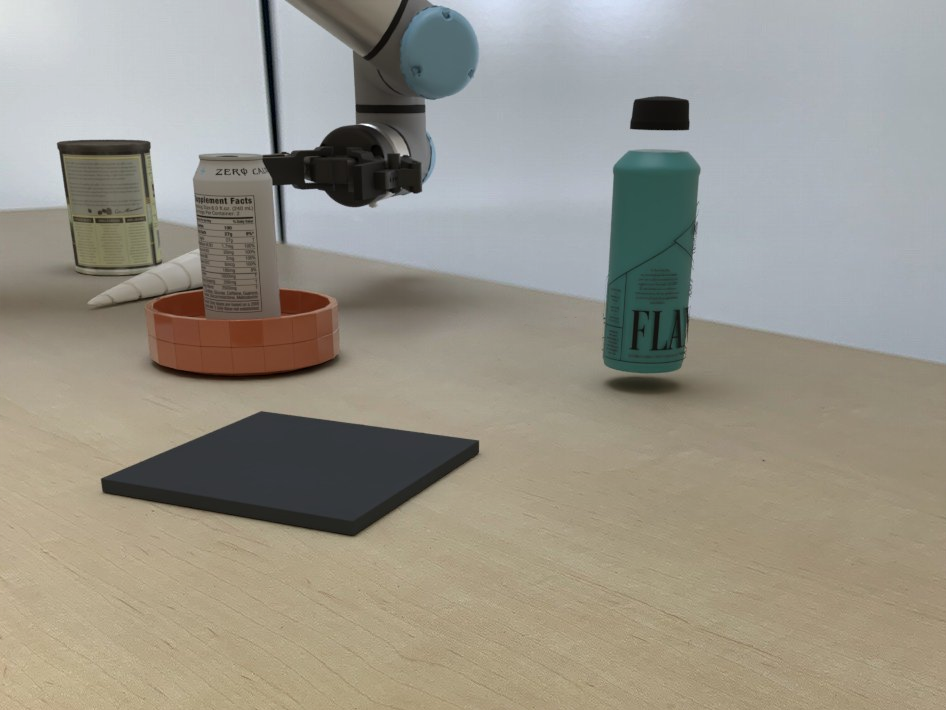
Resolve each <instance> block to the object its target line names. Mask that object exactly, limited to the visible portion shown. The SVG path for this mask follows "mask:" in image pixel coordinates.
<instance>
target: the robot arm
mask: <svg viewBox="0 0 946 710" xmlns="http://www.w3.org/2000/svg"><path fill="white" fill-rule="evenodd" d="M284 2H287V3H288V4H289V5H291V6H292V7H293V8H295V9H296V10H298V11H299V12H300V13H302V14H303V15H304V16H305V17H307V18H309V19H310V20H311V21H312V22H314V23H315V24H316V25H318V26H319V27H321V28H322V29H324V30H325V31H326V32H327V33H329V34H330V35H332V36H333V37H335V39H337V40H338V41H340V42H341V43H343V44H344V45H345V46H346V47H348V48H349V49H351V50H352V63H353V65H352V66H353V81H354V83H353V85H354V101H355V103H354V104H355V105H354V106H355V109H354V110H355V113H354V114H355V124H350V125H349V124H348V125H342V126H339V127H337V128H335V129H333V130H331V131H330V132H329V133H328V134H326V135H325V137H323V139H322V141H321V143H320V144H319V145H318V146H316V147H314V149H298V150H295V149H293V150H292V151H291V152H287V151H281V152H280V153H270V154H269V153H268V154H262V155H263V158H262V161H263V164H264V165H265V167H266V169H267V171H268V172H269V174H270V176H271V178H272V185H273V187H274V186H292V188H294V189H295V190H303V191H304V190H305V191H306V190H318V191H322V192H324V193H326V195H327V196H328V197H329V198H330V199H331V200H332V201H334V202H335V203H337V204H338V205H340V206H343V207H347V208H361V207H365V206H368V207H369V208H371V209H373V208H377V207H378V204H379V202H380V201H384V200H387V199H391V198H394V197H398V196H407V195H409V194H415V195H416V194H417V195H418V194H421V193H423V185H424V184H426V182H427V181H428V180H429V178H430V177H431V176H432V174H433V171H434V169H435V165H436V157H437V155H436V146H435V144H434V141H433V139H432V137H431V135H430V134H429V132H428V131H427V118H426V117H427V116H426V100H430V101H435V100H439V99H443V98H447V97H451V96H454V95H456V94H458V93H460V92H462V91H463V90H464V89H466V87H467V86H468V85H469V84H470V82H472V79H473V78H475V73H476V71H477V68H478V64H479V61H480V59H479V58H480V45H479V40H478V36H477V33H476V31H475V29H474V27H473V25H472V24H471V22H470V21H469V20H468V19H467V18H466V17H465V16H464V15H463V14H461V13H460V12H458V11H457V10H454V9H453V8H452V9H451V8H449V7H446V6H443V5H437V4H436V5H435V4H433V3H432V2H430V1H429V0H284ZM306 181H309V182H306Z"/></svg>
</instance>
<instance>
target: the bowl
mask: <svg viewBox="0 0 946 710" xmlns="http://www.w3.org/2000/svg"><path fill="white" fill-rule="evenodd" d="M279 294H280V309H281V317H270V318H255V319H206V315H205V304H204V294H203V289H195V290H194V289H193V290H188V291H179V292H174V293H169V294H164V295H160V296H156V297H155V298H153V299H151V300H149V301H147V302H146V303H145V306H144V312H145V313H144V314H145V322H146V331H147V332H146V333H147V341H148V349H149V358H150V359H151V360H152V361H154V362H155V363H157V365H160V366H163V367H167V368H172V369H174V370H178V371H184V372H189V373H193V374H201V375H209V376H227V377H237V376H238V377H240V376H241V377H242V376H243V377H246V376H263V375H273V374H282V373H288V372H293V371H298V370H302V369H307V368H310V367H313V366H317V365H320V364H323V363H324V362H325V363H326V362H328V361H331V360H334V358H335V357H336V356H337V355H338V354H340V352H341V345H340V323H339V322H340V321H339V319H340V318H339V303H338V301H337V299H336V298H335V297H333V296H331V295H329V294H326V293H322V292H317V291H313V290H306V289H296V288H286V287H279Z"/></svg>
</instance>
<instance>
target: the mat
mask: <svg viewBox="0 0 946 710" xmlns="http://www.w3.org/2000/svg"><path fill="white" fill-rule="evenodd" d="M479 453H480V440H479V439H471V438H464V437H457V436H449V435H443V434H435V433H427V432H420V431H413V430H406V429H405V430H404V429H398V428H391V427H383V426H376V425H369V424H361V423H355V422H354V423H352V422H345V421H338V420H330V419H325V418H316V417H308V416H301V415H293V414H285V413H280V412H279V413H278V412H271V411H264V410H260V411H258V412H255V413H253V414H251V415H249V416H246V417H244V418H241V419H239V420H236V421H234V422H232V423H229V424H227V425H224V426H222V427H220V428H217V429H215V430H213V431H211V432H207V433H205V434H203V435H201V436H198V437H195V438H194V439H192V440H189V441H187V442H185V443H182V444H179V445H177V446H174V447H172V448H170V449H167V450H165V451H163V452H160V453H158V454H155V455H154V456H151V457H149V458H146V459H144V460H141V461H139V462H137V463H134V464H132V465H129V466H128V467H125V468H123V469H120V470H117V471H115V472H113V473H110V474H108V475H106V476H104V477H101V478H100V484H101V491H102V493H107V494H114V495H119V496H124V497H130V498H136V499H142V500H147V501H152V502H159V503H164V504H170V505H175V506H182V507H188V508H193V509H197V510H203V511H210V512H216V513H222V514H227V515H232V516H233V515H234V516H239V517H244V518H251V519H256V520H262V521H267V522H273V523H278V524H283V525H284V524H285V525H290V526H297V527H303V528H308V529H313V530H319V531H325V532H331V533H337V534H341V535H348V536H355V535H357V534H358V533H360V532H361V531H362V530H364V529H366V528H367V527H369V526H370V525H371V524H373V523H374V522H376V521H378V520H379V519H381V518H383V517H384V516H386V515H387V514H389V513H390V512H392V511H393V510H395V509H396V508H398V507H399V506H400V505H402V504H404V503H405V502H407V501H408V500H409V499H411V498H412V497H414V496H416V495H417V494H418V493H420V492H422V491H423V490H425V489H426V488H427V487H429V486H431V485H432V484H434V483H435V482H437V481H438V480H440V479H441V478H442V477H444V476H446V475H447V474H449V473H451V472H452V471H453V470H455V469H457V468H458V467H460V466H461V465H463V464H464V463H466V462H467V461H468V460H470V459H472V458H473V457H474V456H476V455H478V454H479Z"/></svg>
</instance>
